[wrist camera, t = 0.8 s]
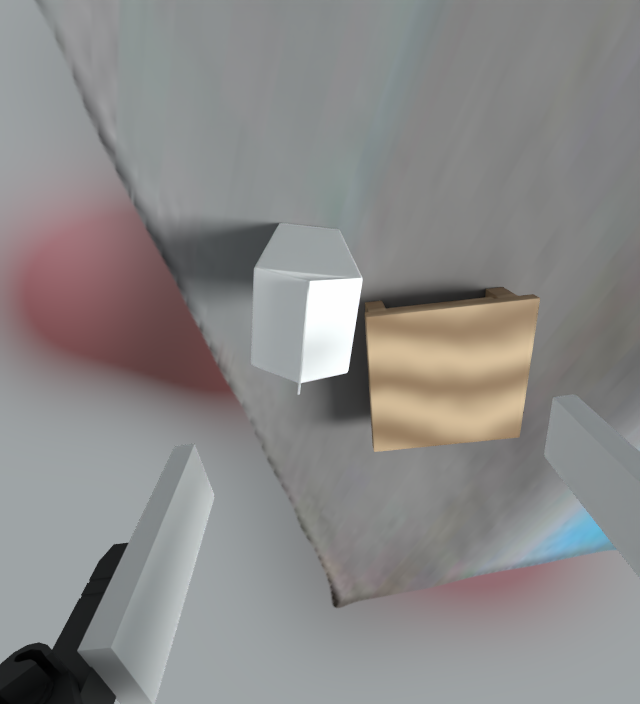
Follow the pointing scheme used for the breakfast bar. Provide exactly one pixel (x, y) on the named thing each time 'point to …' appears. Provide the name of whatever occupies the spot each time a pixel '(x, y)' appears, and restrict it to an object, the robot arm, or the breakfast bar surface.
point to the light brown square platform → (449, 369)
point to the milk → (304, 304)
